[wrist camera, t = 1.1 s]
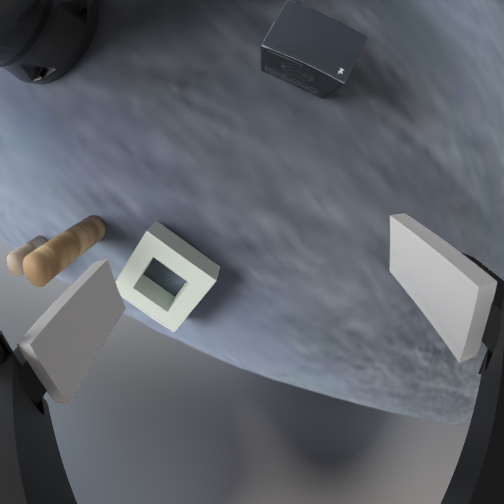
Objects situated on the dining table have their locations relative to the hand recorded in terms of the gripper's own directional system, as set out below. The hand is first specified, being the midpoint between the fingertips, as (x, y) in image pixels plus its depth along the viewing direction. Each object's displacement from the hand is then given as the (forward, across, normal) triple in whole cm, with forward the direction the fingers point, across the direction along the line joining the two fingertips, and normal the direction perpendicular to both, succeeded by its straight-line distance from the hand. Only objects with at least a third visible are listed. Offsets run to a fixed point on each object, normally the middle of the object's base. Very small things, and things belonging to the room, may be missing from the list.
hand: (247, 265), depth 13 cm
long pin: (+24, -22, -2) cm, 33 cm away
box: (+24, +8, +13) cm, 29 cm away
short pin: (+24, -34, -3) cm, 41 cm away
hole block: (+24, -13, -10) cm, 29 cm away
